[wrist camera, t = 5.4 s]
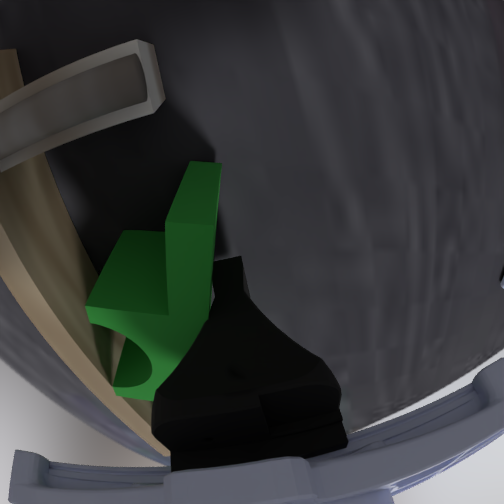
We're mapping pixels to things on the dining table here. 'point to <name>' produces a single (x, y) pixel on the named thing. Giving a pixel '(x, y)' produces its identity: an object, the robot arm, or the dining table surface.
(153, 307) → the pipe clamp
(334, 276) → the dining table surface
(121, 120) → the wooden drawer handle
